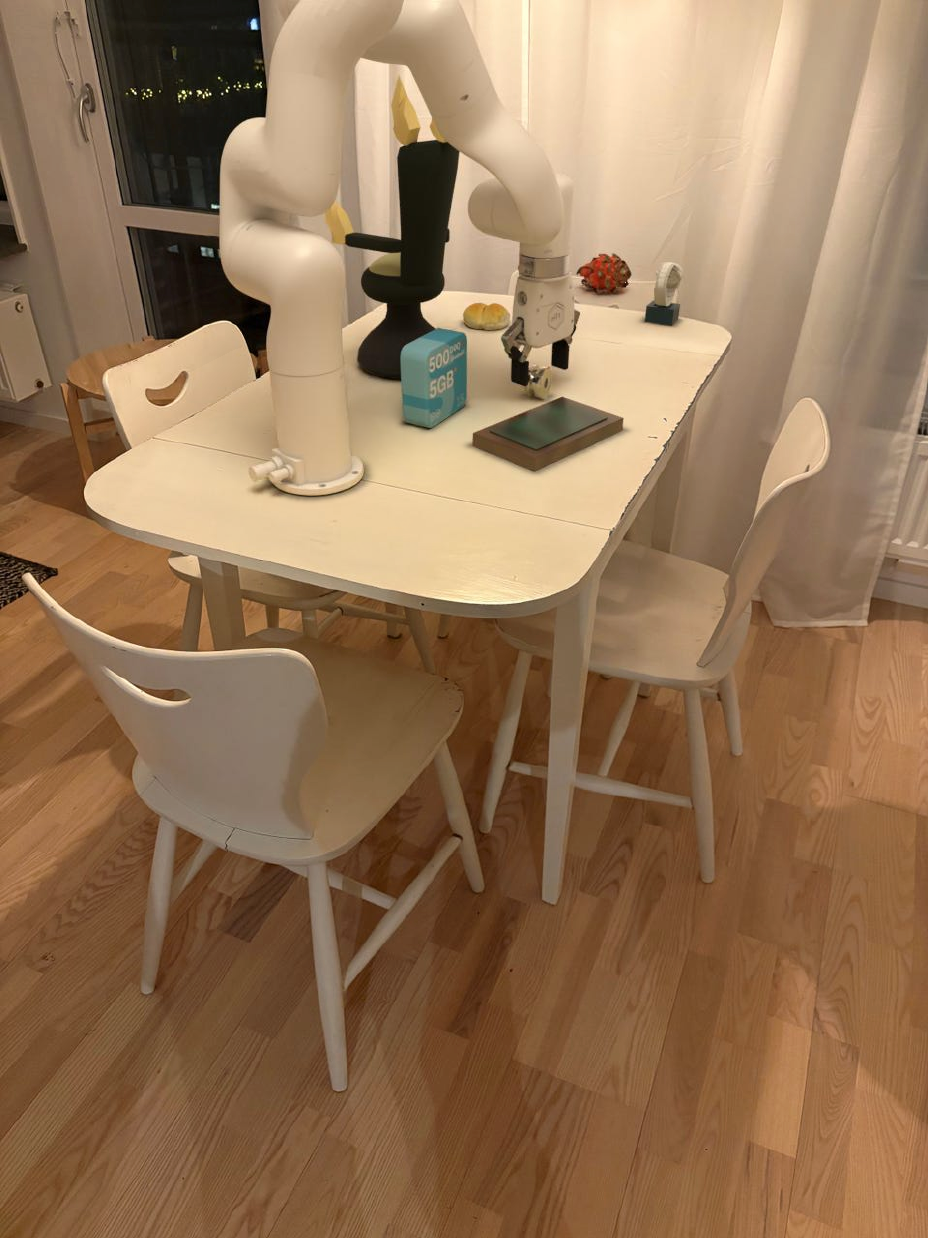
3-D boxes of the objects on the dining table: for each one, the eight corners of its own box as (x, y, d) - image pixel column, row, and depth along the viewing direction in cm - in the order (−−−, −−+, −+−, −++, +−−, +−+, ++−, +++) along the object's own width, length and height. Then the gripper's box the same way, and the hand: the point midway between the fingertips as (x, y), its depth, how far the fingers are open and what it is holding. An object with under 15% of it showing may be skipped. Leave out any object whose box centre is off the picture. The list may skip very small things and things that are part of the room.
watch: (680, 317, 184) (688, 259, 177) (669, 328, 178) (676, 269, 172) (653, 313, 186) (660, 256, 180) (641, 324, 180) (647, 265, 174)
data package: (427, 431, 137) (425, 352, 130) (402, 425, 139) (399, 347, 132) (467, 405, 146) (467, 329, 139) (443, 399, 148) (442, 324, 141)
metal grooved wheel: (539, 403, 147) (541, 372, 144) (522, 400, 148) (523, 369, 145) (550, 392, 150) (552, 362, 147) (534, 389, 151) (535, 360, 148)
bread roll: (470, 316, 184) (471, 295, 182) (513, 320, 182) (514, 300, 179) (456, 327, 178) (456, 307, 175) (500, 333, 175) (500, 312, 173)
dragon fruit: (632, 303, 197) (578, 305, 201) (638, 271, 199) (585, 273, 204) (624, 275, 189) (569, 278, 194) (632, 242, 192) (576, 246, 197)
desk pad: (534, 471, 126) (535, 456, 125) (472, 445, 133) (472, 431, 132) (622, 430, 138) (624, 416, 137) (561, 408, 145) (562, 394, 144)
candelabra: (417, 340, 172) (410, 59, 146) (498, 372, 158) (506, 68, 132) (333, 362, 161) (310, 65, 136) (412, 399, 148) (402, 75, 122)
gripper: (524, 281, 130) (521, 396, 140) (600, 258, 140) (592, 367, 150) (486, 272, 134) (485, 384, 144) (562, 249, 144) (556, 356, 154)
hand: (539, 375), depth 147 cm, fingers open, 9 cm apart
